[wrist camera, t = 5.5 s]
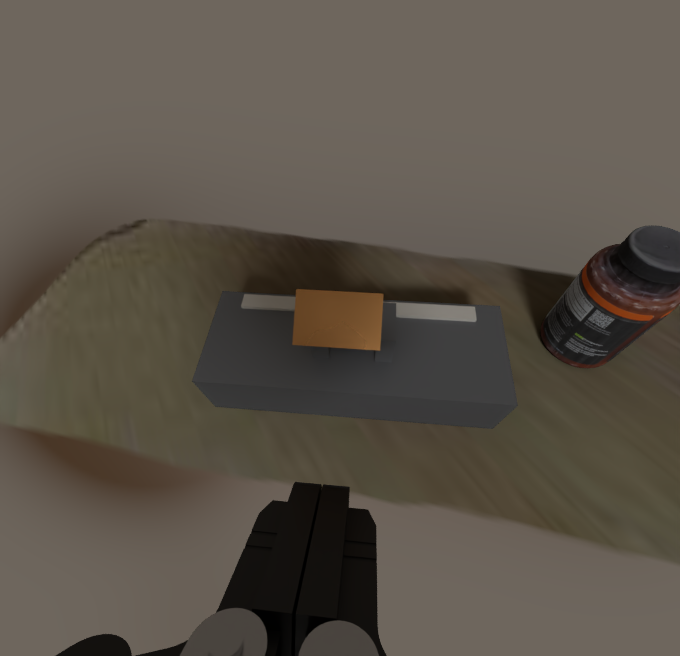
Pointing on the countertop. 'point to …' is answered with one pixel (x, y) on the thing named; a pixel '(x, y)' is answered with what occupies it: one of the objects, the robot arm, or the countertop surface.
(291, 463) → the countertop surface
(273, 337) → the block
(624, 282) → the supplement bottle
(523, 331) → the countertop surface
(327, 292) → the lever
